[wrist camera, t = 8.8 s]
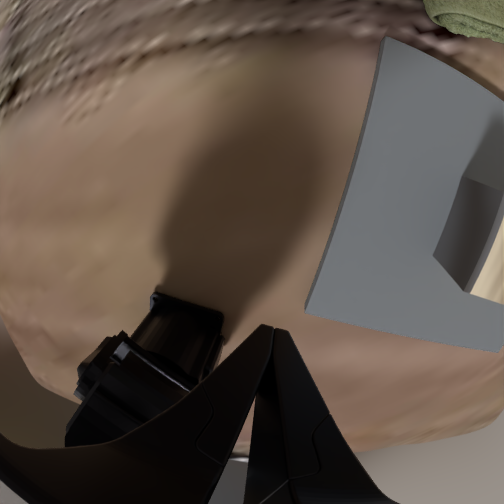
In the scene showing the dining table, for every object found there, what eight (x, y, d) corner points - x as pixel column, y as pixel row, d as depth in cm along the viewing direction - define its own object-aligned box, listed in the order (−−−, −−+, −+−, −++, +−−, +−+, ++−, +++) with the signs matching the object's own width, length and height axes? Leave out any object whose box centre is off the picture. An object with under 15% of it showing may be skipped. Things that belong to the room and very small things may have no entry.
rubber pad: (304, 304, 22) (304, 313, 21) (381, 41, 13) (385, 35, 12) (493, 345, 20) (498, 352, 19) (568, 167, 12) (575, 170, 11)
